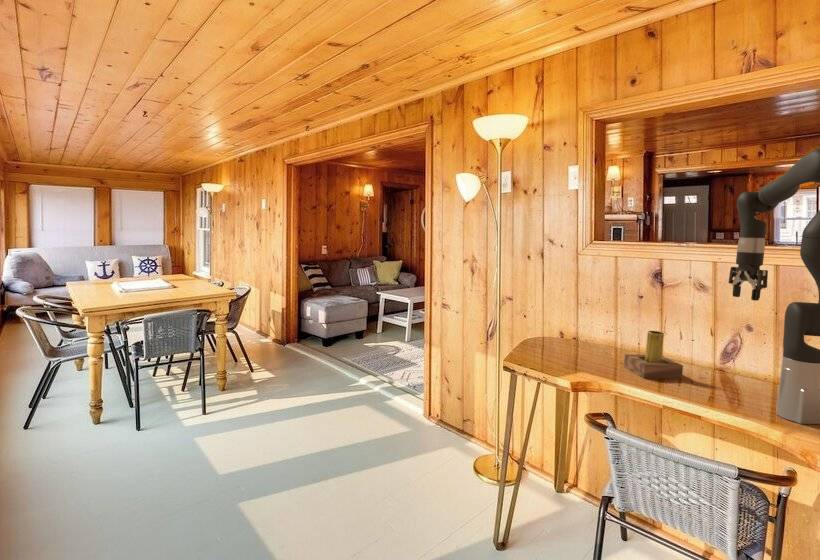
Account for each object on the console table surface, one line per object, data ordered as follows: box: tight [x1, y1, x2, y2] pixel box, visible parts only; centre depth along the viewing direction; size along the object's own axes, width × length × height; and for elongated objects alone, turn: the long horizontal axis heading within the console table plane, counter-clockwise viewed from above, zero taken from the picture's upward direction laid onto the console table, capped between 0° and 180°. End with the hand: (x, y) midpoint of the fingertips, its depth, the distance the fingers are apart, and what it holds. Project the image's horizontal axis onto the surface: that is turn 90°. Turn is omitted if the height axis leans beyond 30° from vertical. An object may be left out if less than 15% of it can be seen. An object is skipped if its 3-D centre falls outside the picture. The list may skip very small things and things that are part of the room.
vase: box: [644, 330, 665, 363], centre depth 173 cm, size 6×6×14 cm
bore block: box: [623, 353, 684, 380], centre depth 174 cm, size 14×14×5 cm
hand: (745, 298), depth 161 cm, fingers open, 8 cm apart
